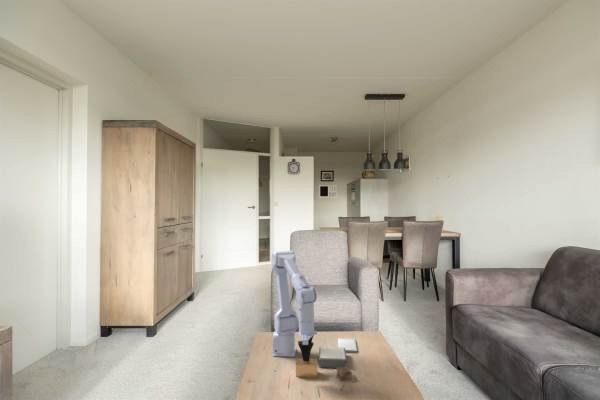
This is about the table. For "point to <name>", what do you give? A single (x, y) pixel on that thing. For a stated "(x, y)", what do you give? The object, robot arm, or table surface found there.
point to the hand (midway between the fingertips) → (306, 356)
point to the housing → (306, 368)
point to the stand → (332, 357)
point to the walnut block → (344, 373)
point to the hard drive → (348, 345)
